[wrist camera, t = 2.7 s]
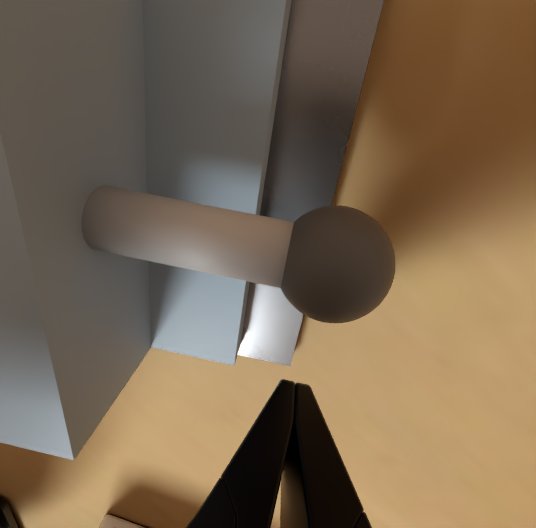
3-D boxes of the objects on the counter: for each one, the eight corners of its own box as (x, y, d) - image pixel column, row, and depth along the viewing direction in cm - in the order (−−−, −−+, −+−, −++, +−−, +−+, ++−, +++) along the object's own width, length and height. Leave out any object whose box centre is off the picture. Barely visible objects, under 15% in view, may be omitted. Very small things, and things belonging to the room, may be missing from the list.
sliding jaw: (324, 364, 12) (329, 522, 7) (112, 318, 12) (-5, 441, 8) (449, -19, 7) (716, -266, 2) (76, -76, 7) (-333, -381, 3)
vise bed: (291, 355, 13) (290, 366, 12) (42, 301, 13) (30, 309, 13) (392, -46, 7) (398, -58, 6) (-48, -112, 8) (-75, -127, 7)
